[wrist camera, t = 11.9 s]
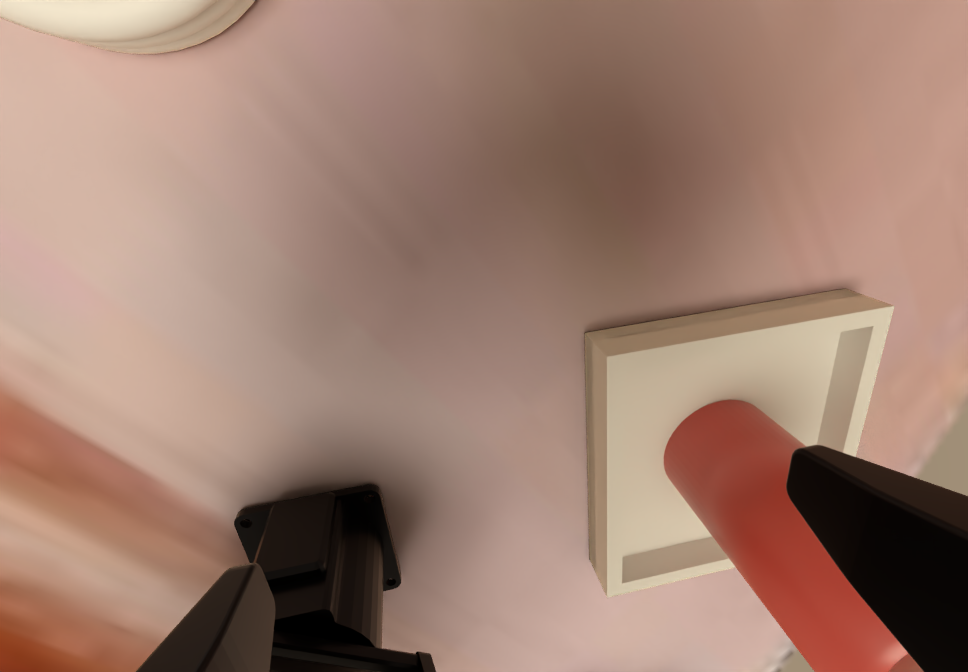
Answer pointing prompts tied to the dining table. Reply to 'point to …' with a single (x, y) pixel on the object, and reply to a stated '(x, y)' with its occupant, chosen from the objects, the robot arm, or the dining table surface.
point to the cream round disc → (127, 21)
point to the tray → (702, 381)
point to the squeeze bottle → (775, 537)
